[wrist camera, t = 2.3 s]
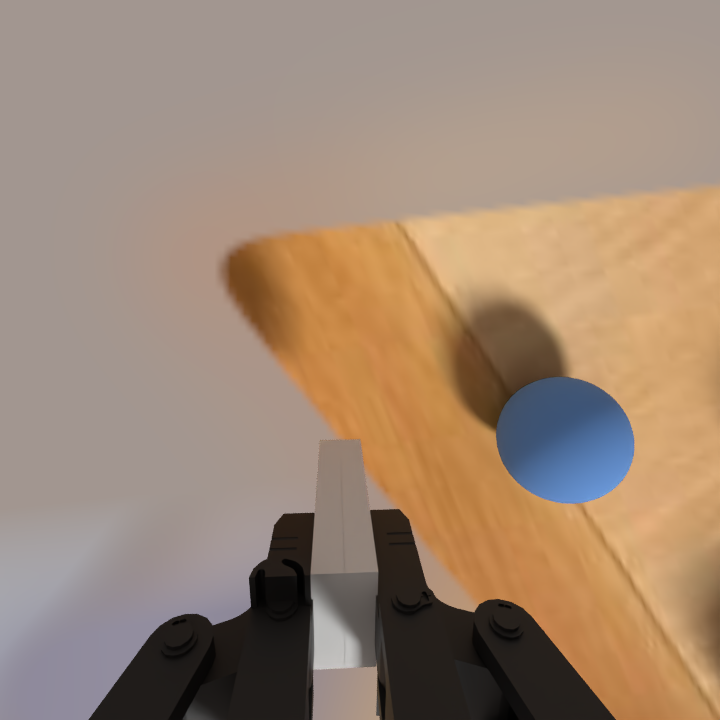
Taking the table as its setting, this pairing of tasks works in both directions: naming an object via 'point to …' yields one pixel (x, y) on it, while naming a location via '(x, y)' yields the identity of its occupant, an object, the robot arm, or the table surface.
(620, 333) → the table surface
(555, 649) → the robot arm
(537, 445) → the ball
